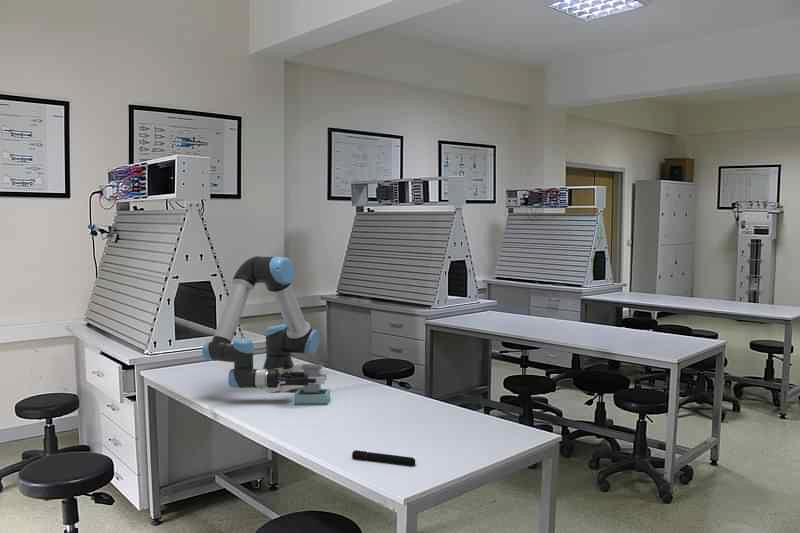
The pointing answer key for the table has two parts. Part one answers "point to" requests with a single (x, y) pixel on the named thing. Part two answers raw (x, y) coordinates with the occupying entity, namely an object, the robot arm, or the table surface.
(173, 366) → the table surface
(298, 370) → the wall
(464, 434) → the table surface
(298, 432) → the table surface
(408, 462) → the gadget
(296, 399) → the tray
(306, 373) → the brushed metal pillar
